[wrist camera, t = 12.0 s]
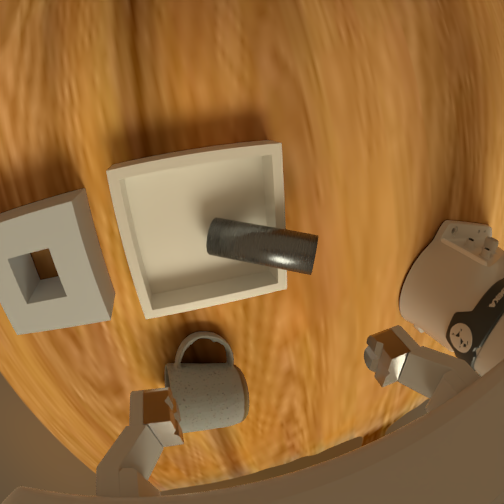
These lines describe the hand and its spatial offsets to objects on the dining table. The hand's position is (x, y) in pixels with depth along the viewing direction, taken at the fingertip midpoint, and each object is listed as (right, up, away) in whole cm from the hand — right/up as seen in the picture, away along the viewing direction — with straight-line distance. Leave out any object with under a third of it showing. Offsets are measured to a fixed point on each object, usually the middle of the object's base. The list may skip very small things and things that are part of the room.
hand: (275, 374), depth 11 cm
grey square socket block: (-19, +4, +11) cm, 22 cm away
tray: (-5, +7, +14) cm, 17 cm away
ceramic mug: (-7, -8, +21) cm, 24 cm away
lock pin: (-4, +6, +13) cm, 15 cm away
